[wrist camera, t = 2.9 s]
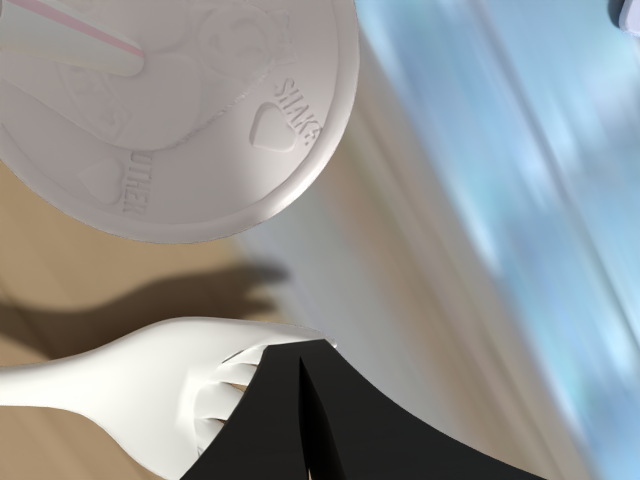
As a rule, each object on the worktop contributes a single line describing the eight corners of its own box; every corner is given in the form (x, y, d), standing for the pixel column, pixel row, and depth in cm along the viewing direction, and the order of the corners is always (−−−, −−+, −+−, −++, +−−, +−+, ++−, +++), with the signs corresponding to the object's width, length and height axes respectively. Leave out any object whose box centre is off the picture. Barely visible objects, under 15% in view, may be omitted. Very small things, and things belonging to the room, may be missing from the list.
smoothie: (96, -5, 15) (-949, -724, 2) (289, -32, 16) (464, -752, 3) (147, 187, 17) (-227, 466, 4) (319, 157, 18) (508, 313, 4)
